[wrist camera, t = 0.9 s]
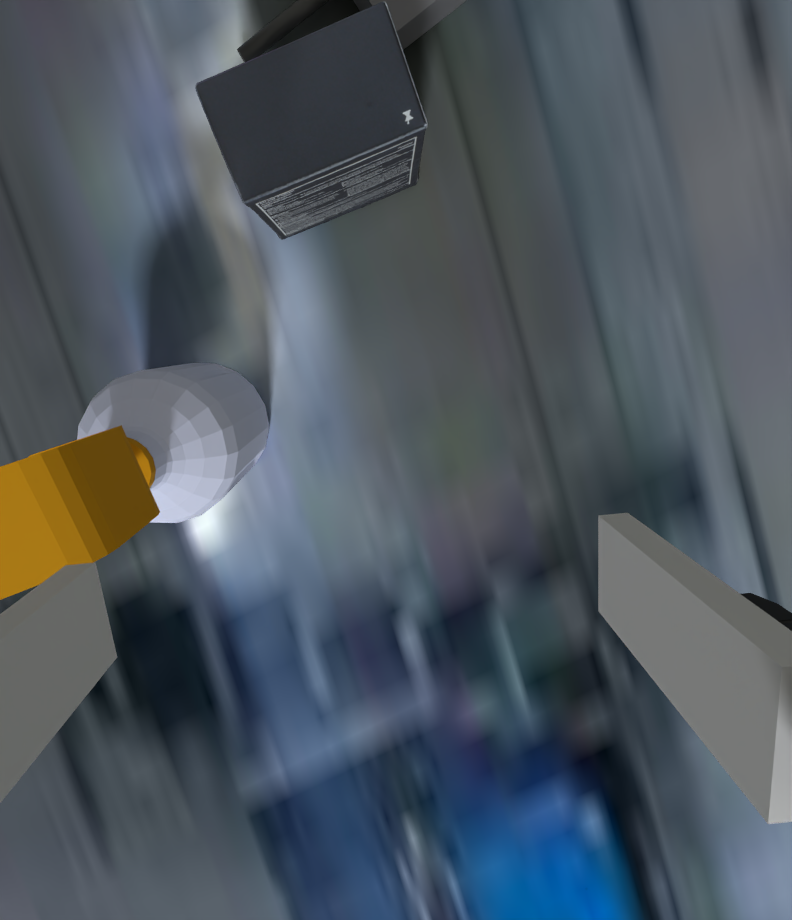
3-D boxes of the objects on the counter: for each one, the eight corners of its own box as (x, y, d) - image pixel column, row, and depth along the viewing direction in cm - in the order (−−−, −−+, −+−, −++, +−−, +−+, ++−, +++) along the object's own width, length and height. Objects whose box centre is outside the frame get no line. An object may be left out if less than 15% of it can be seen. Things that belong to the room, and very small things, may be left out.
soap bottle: (128, 384, 40) (-240, 458, 16) (244, 346, 40) (42, 362, 16) (176, 495, 42) (-89, 705, 18) (287, 459, 42) (164, 626, 18)
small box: (385, 85, 36) (388, -12, 26) (420, 184, 38) (435, 129, 28) (241, 148, 37) (187, 76, 27) (280, 243, 38) (244, 209, 28)
